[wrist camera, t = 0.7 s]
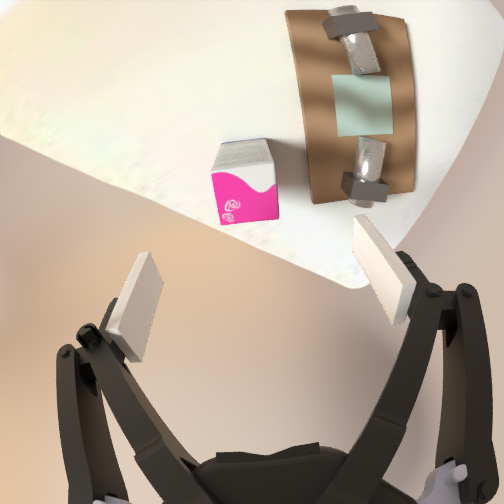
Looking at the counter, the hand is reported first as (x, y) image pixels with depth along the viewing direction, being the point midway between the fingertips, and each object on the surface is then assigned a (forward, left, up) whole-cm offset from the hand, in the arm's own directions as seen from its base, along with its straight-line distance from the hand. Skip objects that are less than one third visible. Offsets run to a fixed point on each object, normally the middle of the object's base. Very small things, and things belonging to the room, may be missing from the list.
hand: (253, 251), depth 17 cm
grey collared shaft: (-15, +15, -19) cm, 28 cm away
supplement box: (0, 0, -20) cm, 20 cm away
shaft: (+2, +15, -19) cm, 24 cm away
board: (-6, +16, -20) cm, 26 cm away
